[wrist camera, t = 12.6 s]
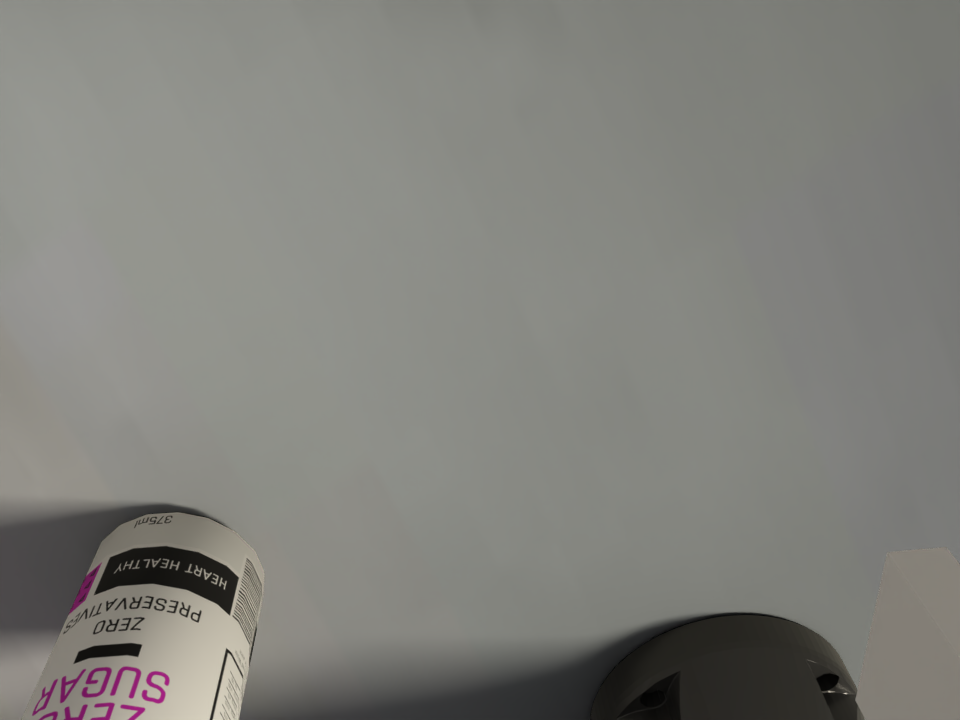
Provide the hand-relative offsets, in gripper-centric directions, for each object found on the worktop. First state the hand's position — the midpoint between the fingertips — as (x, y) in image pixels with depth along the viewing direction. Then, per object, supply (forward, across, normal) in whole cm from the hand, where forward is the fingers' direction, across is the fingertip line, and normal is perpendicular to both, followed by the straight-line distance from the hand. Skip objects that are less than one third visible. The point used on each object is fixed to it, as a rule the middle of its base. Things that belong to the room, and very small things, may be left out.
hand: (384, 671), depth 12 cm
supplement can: (+27, +13, +21) cm, 37 cm away
